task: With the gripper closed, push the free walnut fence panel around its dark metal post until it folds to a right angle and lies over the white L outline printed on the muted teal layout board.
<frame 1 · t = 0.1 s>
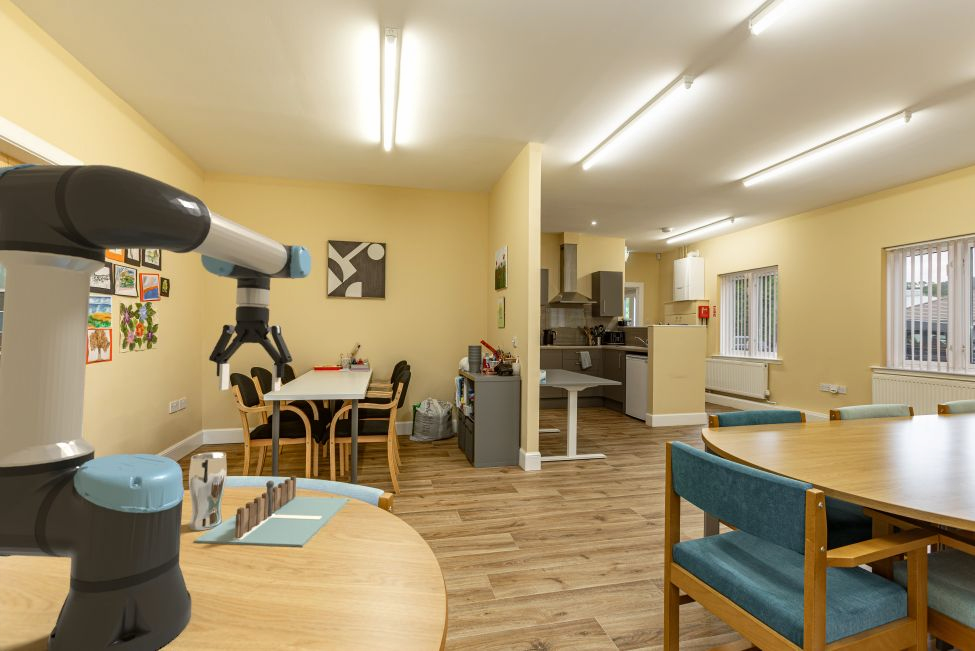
hand: (249, 390, 111), 28 cm above the table, fingers open, 13 cm apart
layout board: (281, 518, 100), on the table
fence fixed: (268, 518, 100), resting on layout board
fence panel: (283, 492, 107), point 4 cm above the table, hinge at 0.0°
beer glass: (205, 525, 96), on the table
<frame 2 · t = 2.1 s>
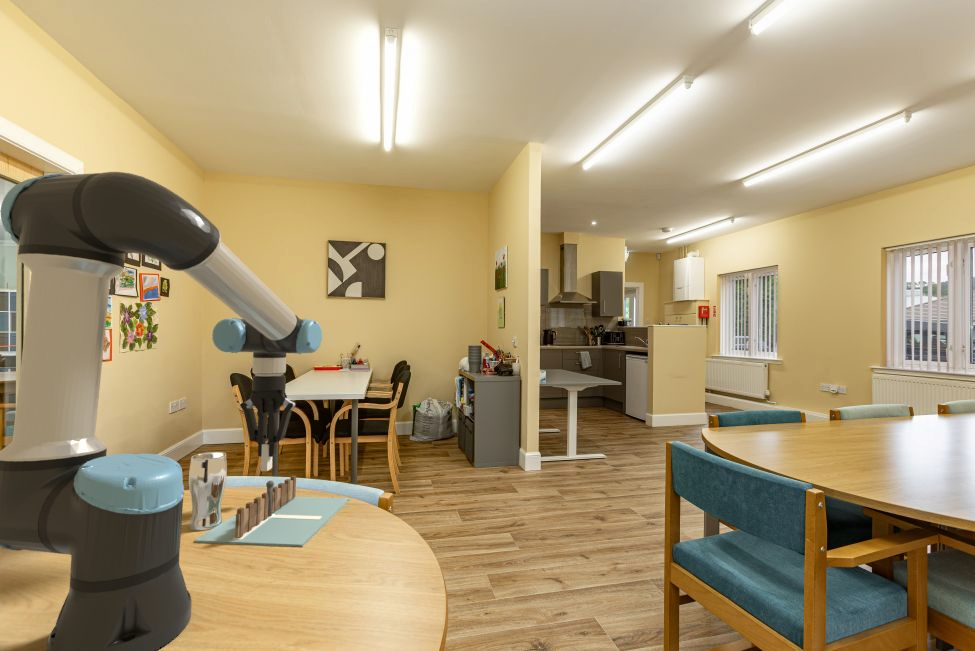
hand: (266, 469, 109), 8 cm above the table, fingers closed
nothing on the table moved.
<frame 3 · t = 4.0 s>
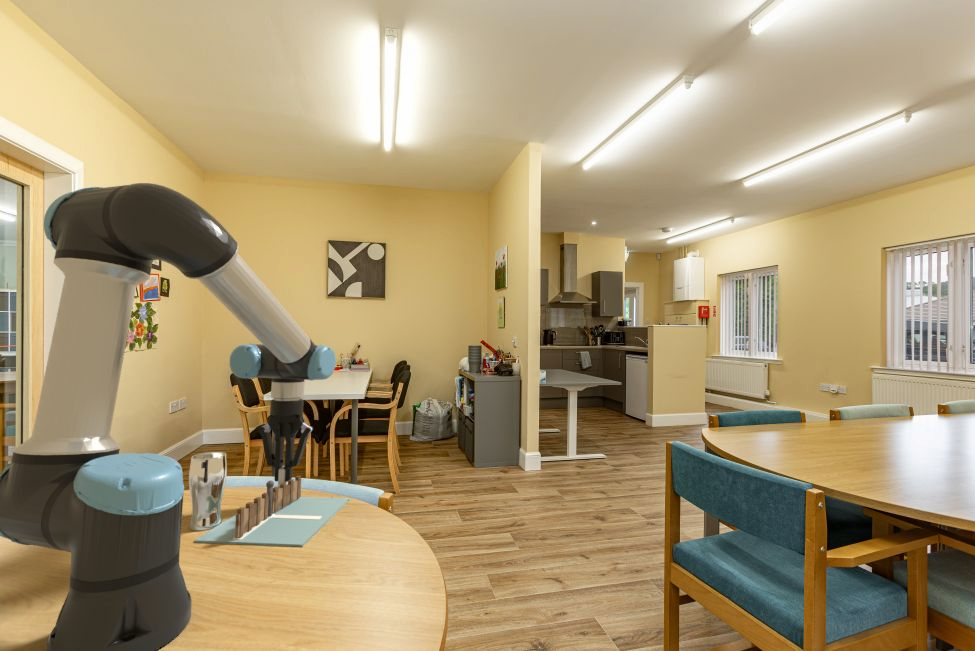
hand: (282, 494, 109), 2 cm above the table, fingers closed
fence panel: (286, 493, 107), point 4 cm above the table, hinge at -6.8°, touching gripper
everything else where it was.
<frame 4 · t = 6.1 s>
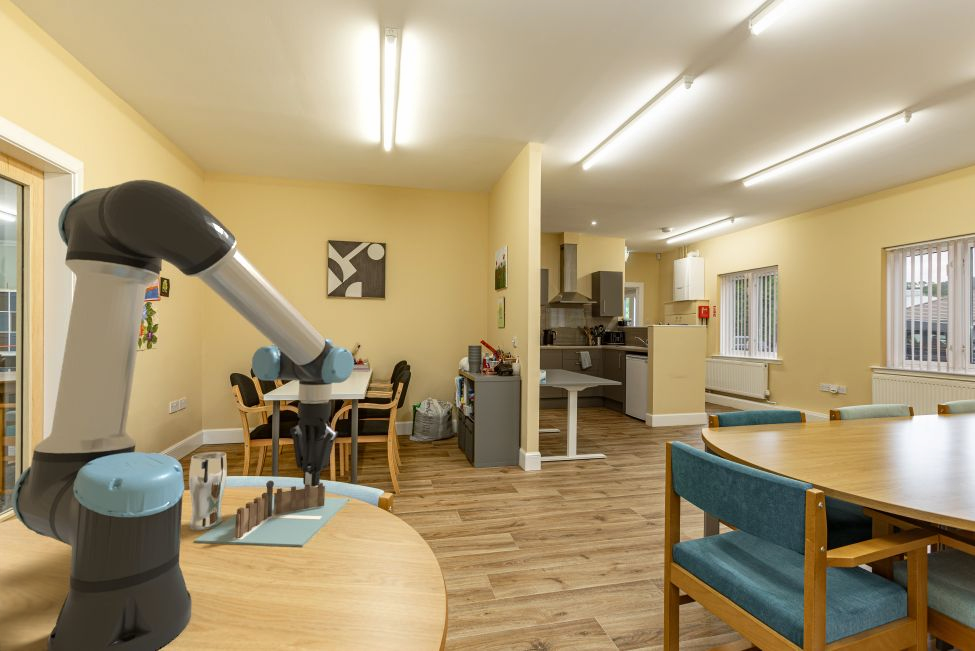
hand: (310, 498, 107), 2 cm above the table, fingers closed
fence panel: (299, 497, 104), point 4 cm above the table, hinge at -56.2°, touching gripper
everything else where it was.
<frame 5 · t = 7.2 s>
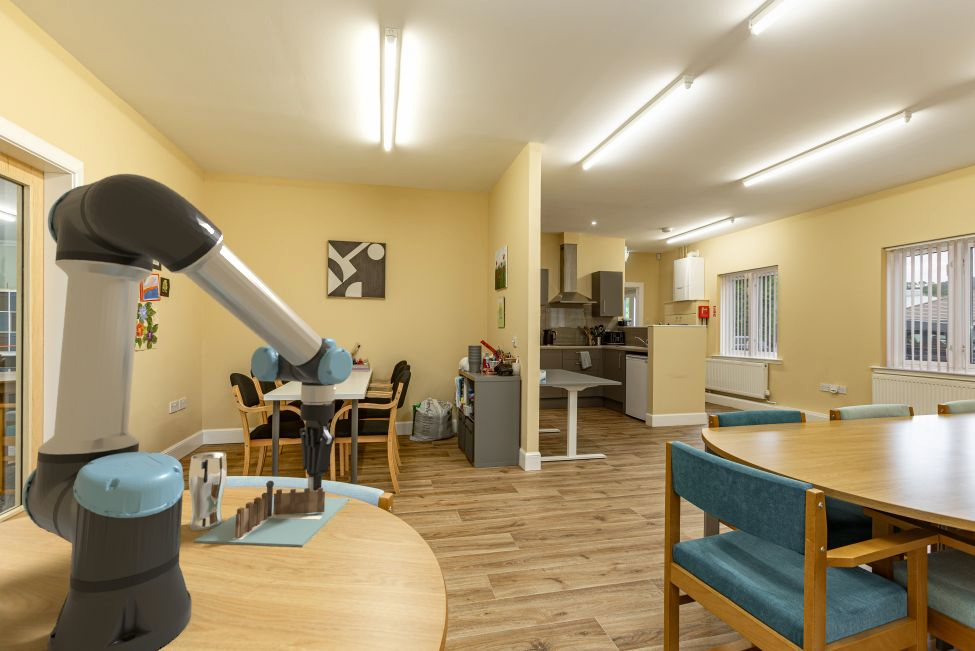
hand: (313, 502, 104), 2 cm above the table, fingers closed
fence panel: (299, 501, 101), point 4 cm above the table, hinge at -76.3°, touching gripper
everything else where it was.
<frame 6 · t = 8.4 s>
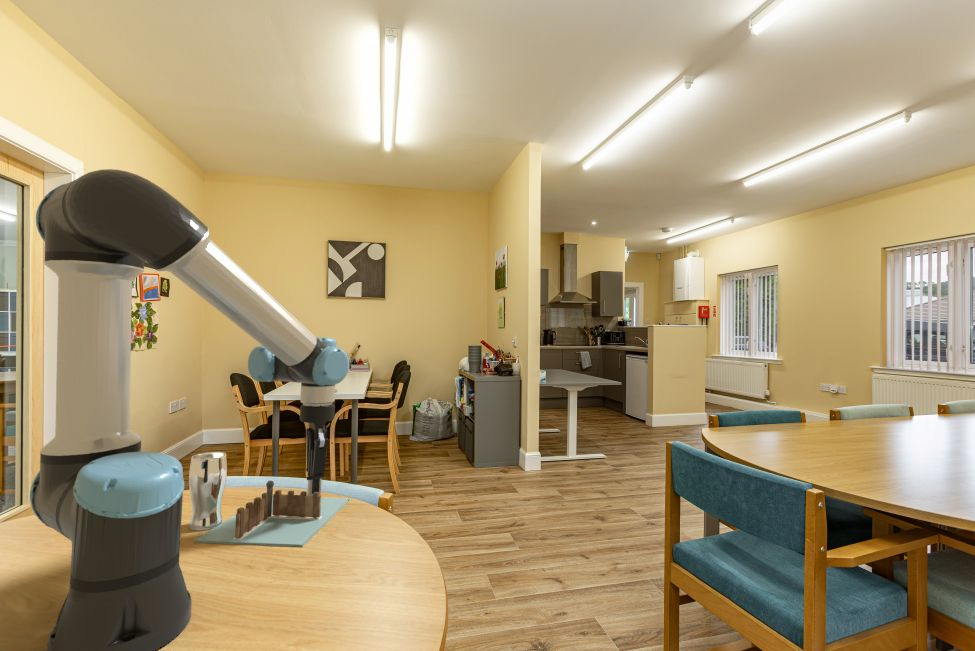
hand: (313, 506, 101), 2 cm above the table, fingers closed
fence panel: (296, 503, 100), point 4 cm above the table, hinge at -91.9°, touching gripper
everything else where it was.
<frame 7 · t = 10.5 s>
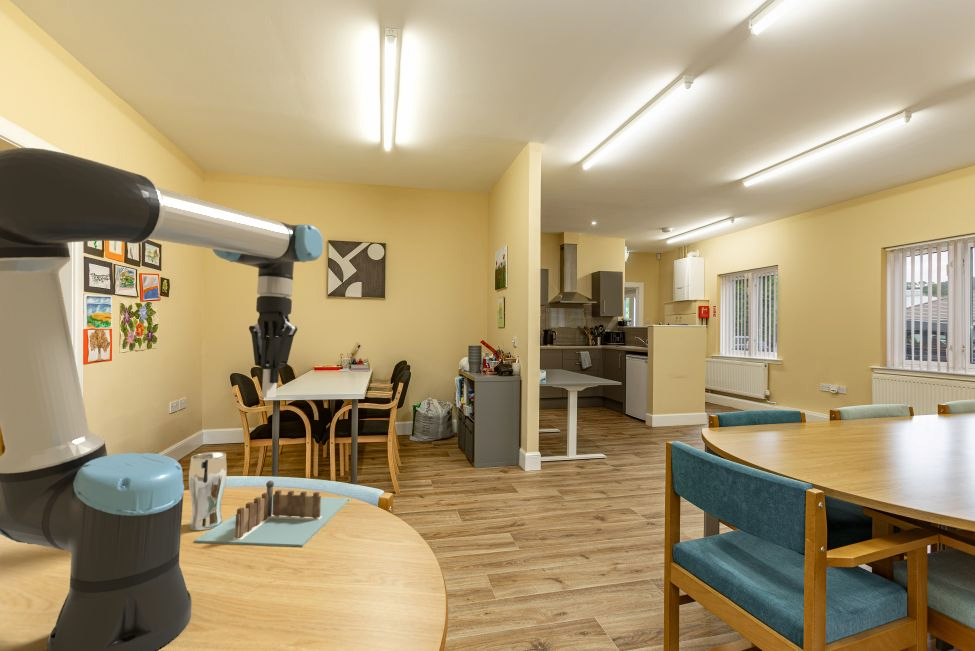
hand: (268, 397, 103), 27 cm above the table, fingers closed
fence panel: (296, 503, 100), point 4 cm above the table, hinge at -92.0°
everything else where it was.
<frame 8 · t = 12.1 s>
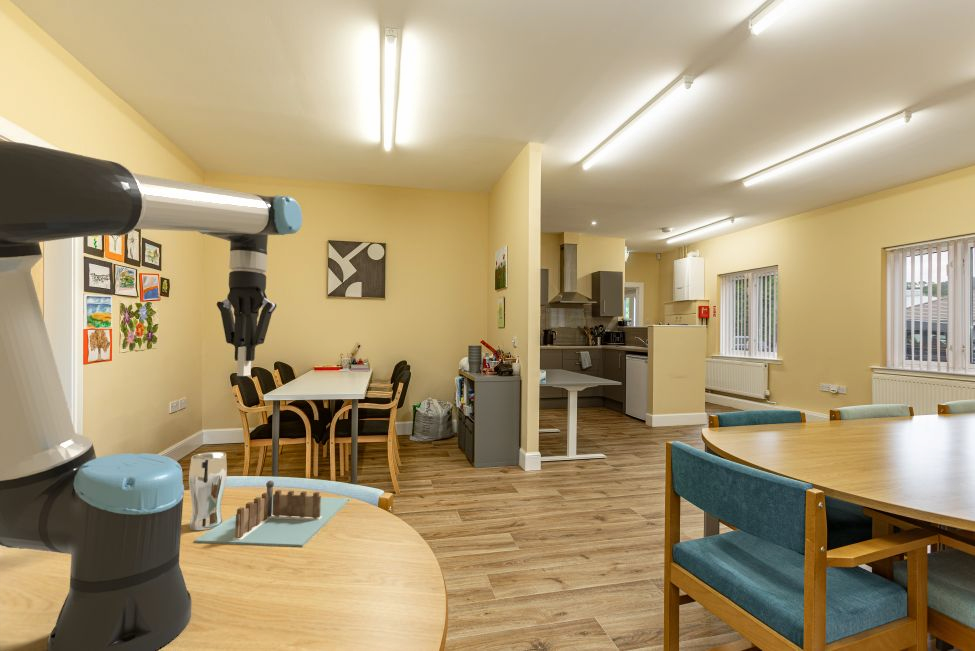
hand: (243, 375, 100), 32 cm above the table, fingers closed
nothing on the table moved.
at the end: fence panel at -92° (first picture: +0°); the gripper is holding nothing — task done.
